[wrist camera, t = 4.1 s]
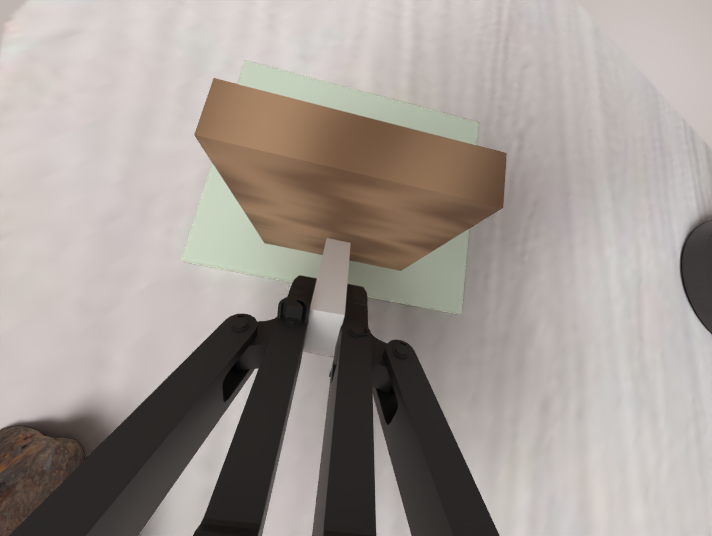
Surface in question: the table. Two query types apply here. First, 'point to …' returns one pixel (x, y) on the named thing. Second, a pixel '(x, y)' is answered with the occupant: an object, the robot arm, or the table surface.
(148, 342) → the table surface
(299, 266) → the mat
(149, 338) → the table surface
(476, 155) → the board
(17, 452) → the rock
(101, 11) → the table surface
